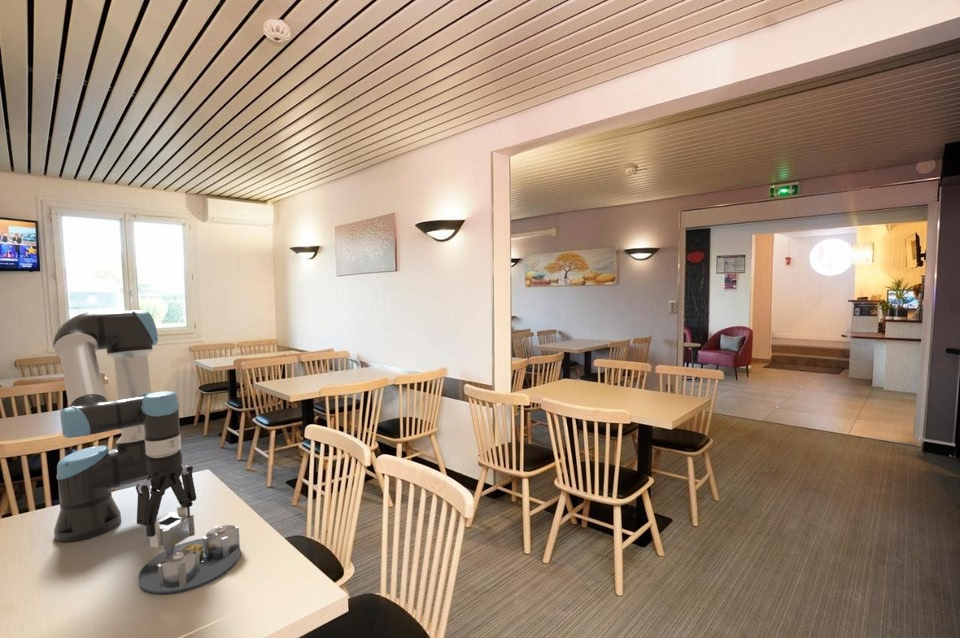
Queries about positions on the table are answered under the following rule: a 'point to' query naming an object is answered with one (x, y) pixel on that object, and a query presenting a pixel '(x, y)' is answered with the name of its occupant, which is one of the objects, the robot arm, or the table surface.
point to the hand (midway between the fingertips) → (170, 538)
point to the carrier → (192, 562)
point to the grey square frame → (173, 530)
